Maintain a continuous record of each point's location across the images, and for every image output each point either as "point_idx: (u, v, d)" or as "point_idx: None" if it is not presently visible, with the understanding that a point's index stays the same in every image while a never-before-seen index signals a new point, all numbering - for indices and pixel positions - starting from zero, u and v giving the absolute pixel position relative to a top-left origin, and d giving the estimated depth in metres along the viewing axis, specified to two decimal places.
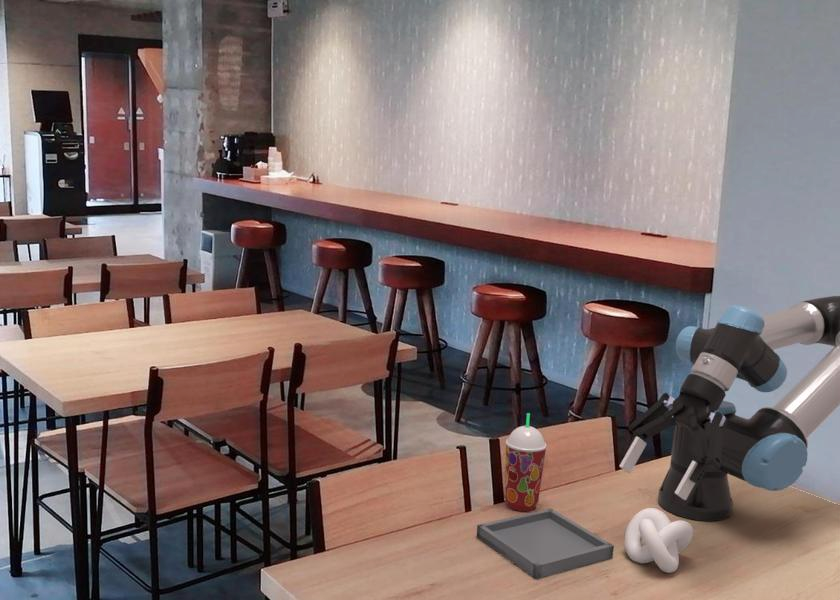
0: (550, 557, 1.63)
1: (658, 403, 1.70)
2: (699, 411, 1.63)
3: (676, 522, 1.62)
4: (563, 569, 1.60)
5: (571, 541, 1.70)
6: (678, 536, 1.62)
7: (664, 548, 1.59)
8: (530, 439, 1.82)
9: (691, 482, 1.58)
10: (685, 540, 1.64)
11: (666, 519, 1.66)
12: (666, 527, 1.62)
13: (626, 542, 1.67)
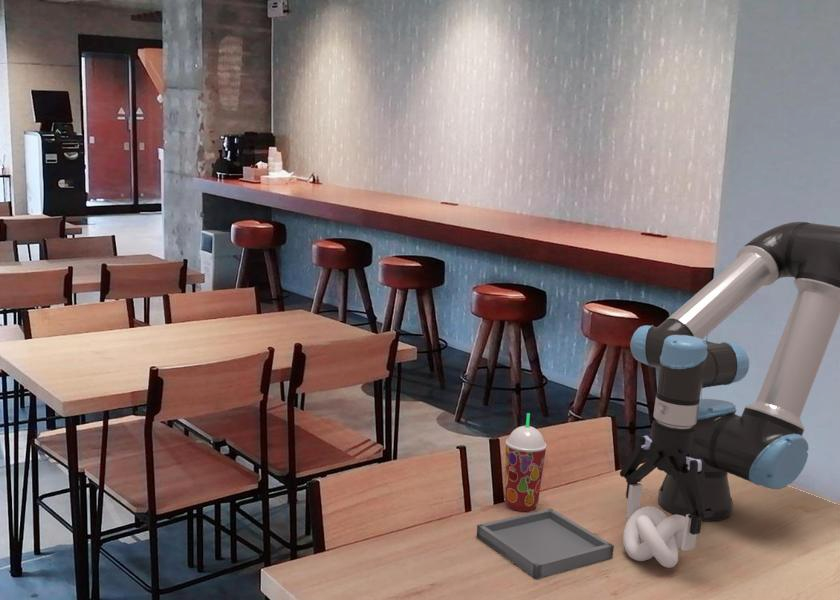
0: (550, 557, 1.63)
1: (637, 449, 1.67)
2: (675, 459, 1.60)
3: (672, 516, 1.63)
4: (563, 569, 1.60)
5: (571, 541, 1.70)
6: (675, 530, 1.62)
7: (662, 541, 1.60)
8: (530, 439, 1.82)
9: None
10: None
11: (663, 515, 1.66)
12: (663, 521, 1.63)
13: (625, 541, 1.67)
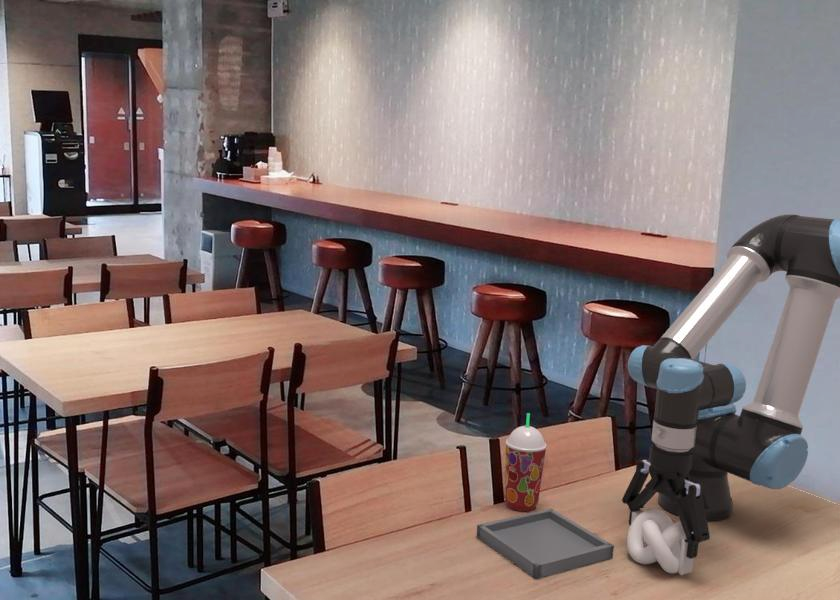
0: (550, 557, 1.63)
1: (637, 473, 1.68)
2: (674, 481, 1.60)
3: (679, 523, 1.62)
4: (563, 569, 1.60)
5: (571, 541, 1.70)
6: (681, 537, 1.61)
7: (668, 549, 1.59)
8: (530, 439, 1.82)
9: None
10: None
11: (669, 520, 1.65)
12: (669, 528, 1.62)
13: (629, 543, 1.66)
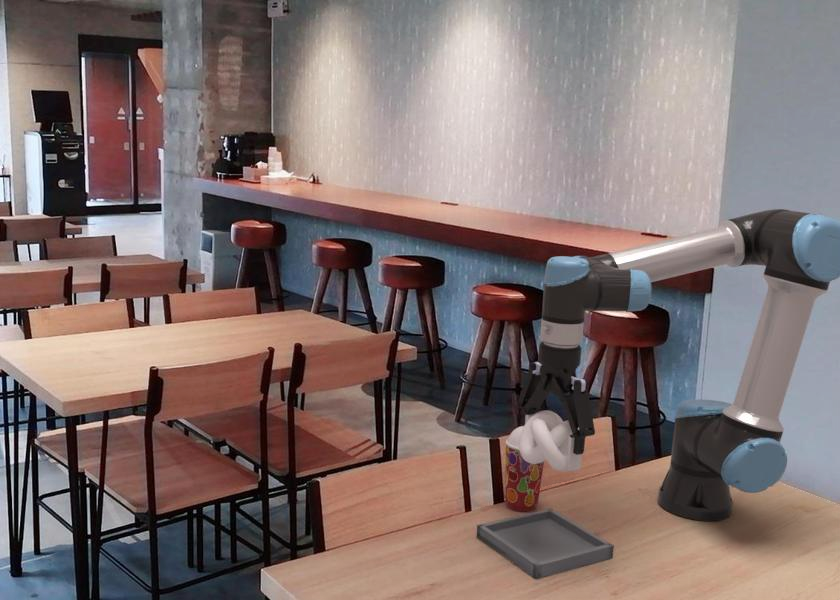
0: (550, 557, 1.63)
1: (529, 375, 1.68)
2: (561, 379, 1.60)
3: (567, 421, 1.62)
4: (563, 569, 1.60)
5: (571, 541, 1.70)
6: (569, 434, 1.61)
7: (554, 445, 1.59)
8: None
9: None
10: None
11: (559, 420, 1.65)
12: (557, 426, 1.62)
13: (520, 444, 1.66)
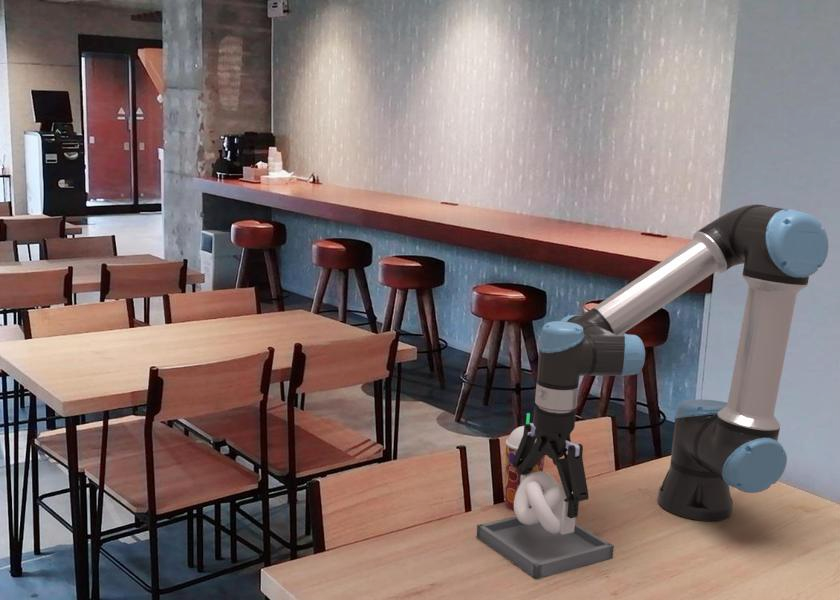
0: (550, 557, 1.63)
1: (524, 436, 1.70)
2: (556, 442, 1.63)
3: (561, 484, 1.64)
4: (563, 569, 1.60)
5: (571, 541, 1.70)
6: (563, 497, 1.63)
7: (548, 509, 1.61)
8: None
9: None
10: None
11: (553, 481, 1.68)
12: (552, 489, 1.64)
13: (515, 505, 1.68)
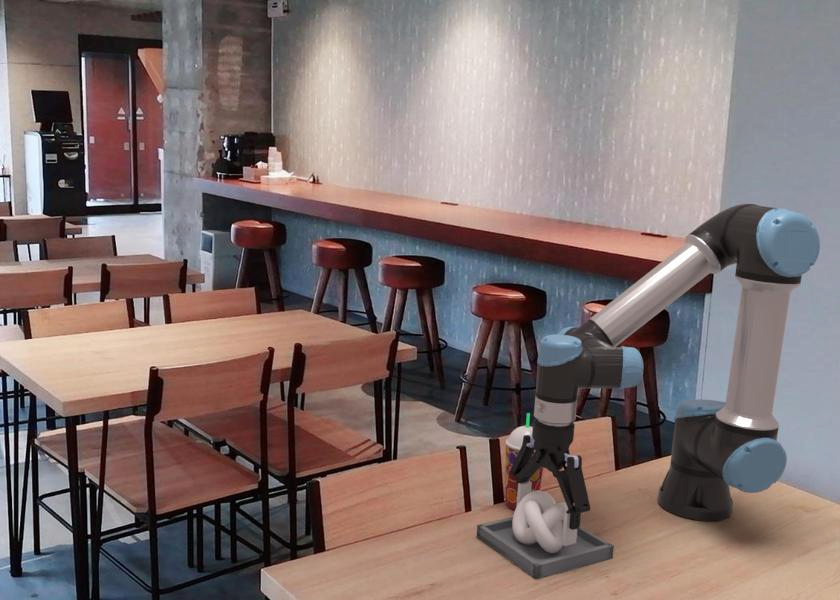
0: (550, 557, 1.63)
1: (523, 447, 1.71)
2: (555, 456, 1.63)
3: (560, 504, 1.65)
4: (563, 569, 1.60)
5: None
6: (561, 517, 1.64)
7: (546, 529, 1.62)
8: None
9: None
10: None
11: (552, 501, 1.68)
12: (550, 508, 1.65)
13: (513, 524, 1.69)
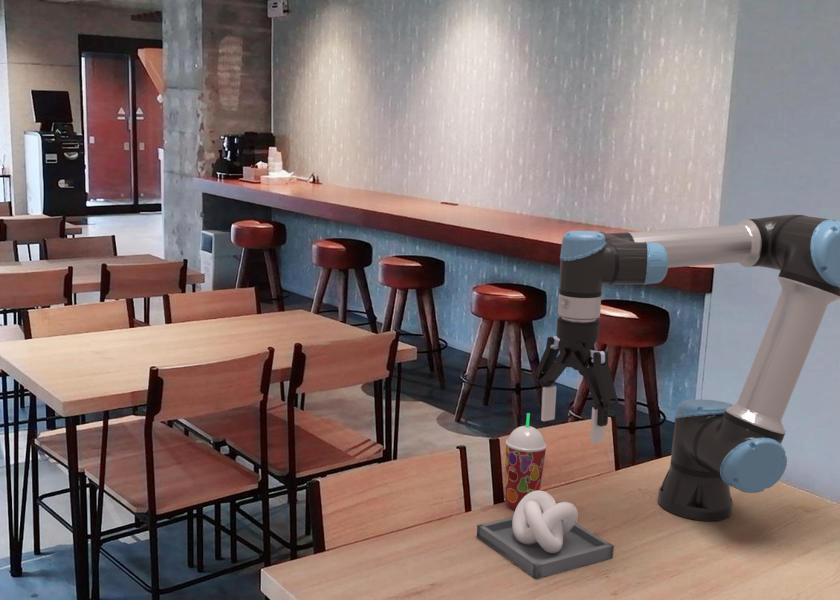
0: (550, 557, 1.63)
1: (547, 349, 1.68)
2: (580, 353, 1.61)
3: (560, 504, 1.65)
4: (563, 569, 1.60)
5: (571, 541, 1.70)
6: (561, 517, 1.64)
7: (546, 529, 1.62)
8: (530, 439, 1.82)
9: None
10: (569, 521, 1.67)
11: (552, 501, 1.68)
12: (550, 508, 1.65)
13: (513, 524, 1.69)
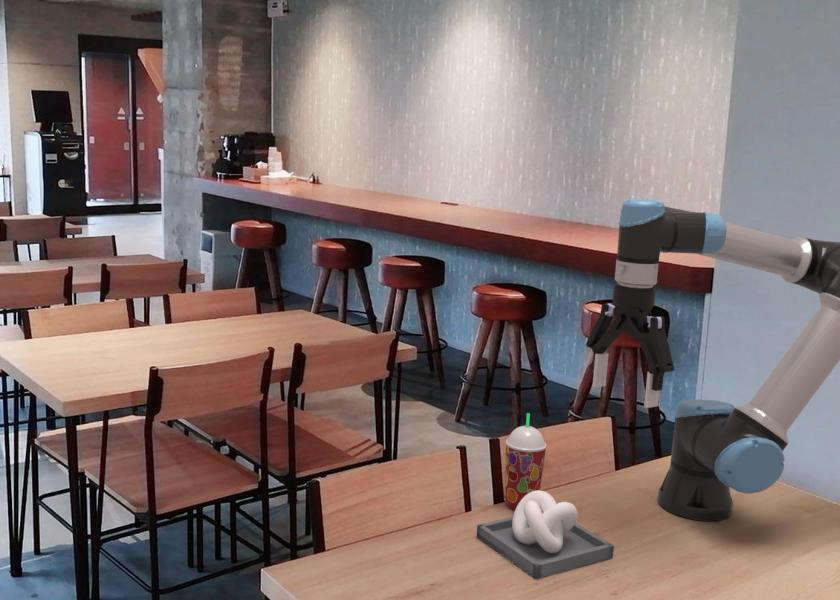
0: (550, 557, 1.63)
1: (601, 316, 1.71)
2: (637, 319, 1.63)
3: (560, 504, 1.65)
4: (563, 569, 1.60)
5: (571, 541, 1.70)
6: (561, 517, 1.64)
7: (546, 529, 1.62)
8: (530, 439, 1.82)
9: None
10: (569, 521, 1.67)
11: (552, 501, 1.68)
12: (550, 508, 1.65)
13: (513, 524, 1.69)
